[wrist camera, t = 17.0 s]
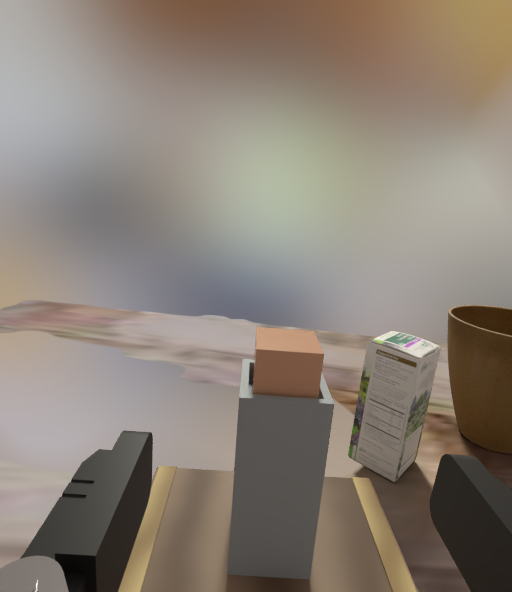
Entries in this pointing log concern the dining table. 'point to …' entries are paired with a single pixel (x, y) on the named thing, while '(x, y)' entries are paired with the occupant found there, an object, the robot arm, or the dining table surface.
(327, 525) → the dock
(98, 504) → the robot arm
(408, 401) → the syrup box
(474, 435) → the plant pot
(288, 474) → the grey open box
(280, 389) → the block
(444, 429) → the dining table surface
